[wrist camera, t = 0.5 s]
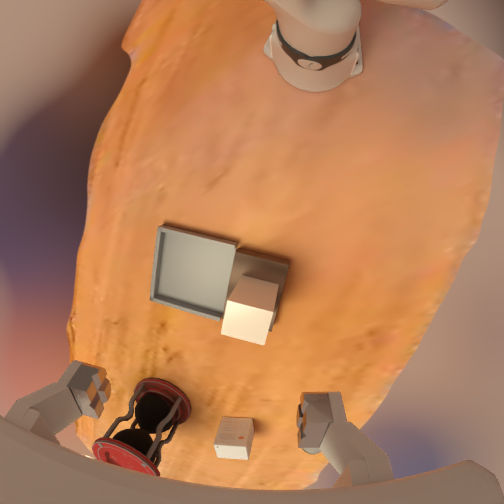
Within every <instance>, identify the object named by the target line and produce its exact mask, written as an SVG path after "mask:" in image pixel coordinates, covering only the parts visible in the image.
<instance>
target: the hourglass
mask: <svg viewBox="0 0 504 504" xmlns="http://www.w3.org/2000/svg"><path fill="white" fill-rule="evenodd" d="M135 400H136V403H137V405H136V407H135V417H136V419H135V420H134V422H133V423H132V425H131V427H130V429H125V430H122V431H120V432H118V433H117V434H116V435H115V436H114V437H113V438H112V439H111V438H109V437H110V435H111V434H112V432H113V431H114V430H115V428H116V427H117V425H118V424H119V423H120V422H122V421H128V420H129V419H131V418H132V417H133V413H134V408H133V406H134V401H135ZM190 412H191V406H190V402H189V400H188V399H187V397H186V396H185V394H184V393H183V392H182V391H181V390H179V389H178V388H177V387H176V386H174V385H172V384H171V383H169V382H167V381H164V380H161V379H156V378H148V379H143V380H142V381H140V382H139V383H138V384H137V386H136V388H135V390H134V395H133V396H132V398H131V399H130V401H129V411H128V414H127V415H126V416H124V417H118V418H116V420H115V421H114V423H113V424H112V425H111V427H110V428H109V429H108V431H107V432H106V434H105V435H104V436H103V438H99V439H97V440H96V441H95V442H94V443H93V446H92V450H93V454H94V455H95V457H96V458H97V459H98V460H101V461H104V462H107V463H110V464H113V465H116V466H120V467H123V468H127V469H130V470H134V471H138V472H142V473H146V474H150V475H155V476H159V477H160V472H159V471H158V469H157V467H158V465H159V463H160V461H161V448H162V446H163V445H164V444H167V443H169V442H170V441H171V439H172V437H173V435H174V433H175V431H176V429H177V427H178V425H179V424H181V423H184V422H185V421H186V420H187V419H188V417H189V416H190ZM137 423H138V425H139V427H140V429H135V426H136V425H137ZM172 425H174V426H173V428H172V429H171V431H170V433H169V435H168V437H167V439H165V440H161V437H162V434H161V433H163V432H165V431H167V430H169V429H170V428H171V426H172ZM155 433H157V434H156V438H155V440H154V442H153V440H152V438H151V436H150V435H149V434H155ZM160 440H161V441H160ZM155 458H156V461H155ZM154 461H155V463H154ZM153 463H154V464H153Z"/></svg>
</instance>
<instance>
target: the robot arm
mask: <svg viewBox="0 0 504 504" xmlns="http://www.w3.org/2000/svg"><path fill="white" fill-rule="evenodd" d="M264 1H265V2H266V3H268V4H269V5H270V6H271V7H272V8H273V9H274V10H275V13H276V17H277V21H276V23H274V24H273V26H272V29H273V30H272V32H271V34H270V36H269V38H268V40H267V42H266V44H265V46H264V49H263V51H264V54H265V55H266V56H267V57H268V58H270V59H271V60H272V61H273V62H274V63H275V65H276V67H277V69H278V71H279V73H280V74H281V76H282V77H283V78H284V79H285V80H286V81H287V82H288V83H290V84H291V85H293V86H295V87H297V88H299V89H302V90H305V91H311V92H322V91H327V90H331V89H333V88H335V87H337V86H339V85H340V84H341V83H343V82H344V81H345V80H346V79H348V78H350V77H354V76H357V75H359V74H361V73H362V70H363V65H362V52H361V40H360V30H359V21H360V19H361V15H362V7H361V3H360V0H264ZM376 1H380V2H384V3H387V4H395V5H401V6H407V7H414V8H420V9H426V10H433V9H435V8H438V7H440V6H442V5H443V4H445V3H446V2H447V1H448V0H376ZM356 62H357V63H358V64H357V65H356ZM106 375H107V373H106V370H105V368H102V367H98V366H95V365H91V364H88V363H84V362H80V361H77V360H74V361H72V362H71V364H70V365H69V367H68V368H67V369H66V371H65V372H64V374H63V375H62V377H61V378H60V379H59V381H58V382H57V383H52V384H50V385H48V386H46V387H44V388H42V389H40V390H37V391H35V392H33V393H31V394H29V395H27V396H25V397H23V398H20V399H18V400H16V402H15V403H14V405H13V406H12V407H11V409H10V410H9V412H8V413H7V415H6V416H5V417H2V416H1V415H0V504H504V496H503V492H502V489H501V487H500V484H499V482H498V479H497V478H496V476H495V475H494V474H493V473H492V472H490V471H489V470H488V469H486V468H484V467H483V466H481V465H480V464H478V463H476V462H474V461H472V460H465V461H461V462H459V463H455V464H452V465H449V466H446V467H443V468H439V469H436V470H432V471H428V472H425V473H421V474H417V475H413V476H408V477H403V478H399V479H394V477H393V473H392V469H391V465H390V461H389V457H388V455H387V454H386V453H385V452H384V451H383V450H382V449H380V448H379V447H378V446H377V445H376V444H374V443H373V442H372V441H371V440H370V439H369V438H368V437H367V436H366V435H365V434H363V433H362V432H361V431H360V430H359V429H358V428H357V427H356V426H355V425H353V424H352V423H351V422H347V419H346V414H345V410H344V405H343V401H342V397H341V393H340V392H302V394H301V397H300V401H301V403H300V404H299V405H298V409H297V427H298V428H299V431H298V435H297V436H298V448H319V449H320V451H321V452H322V453H323V454H324V456H325V457H326V458H327V459H328V461H329V462H330V463H331V464H332V466H333V467H334V468H335V469H336V470H337V471H338V473H339V474H340V475H341V476H340V477H339V478H338V480H337V481H336V483H335V484H334V486H333V487H332V488H327V489H310V490H259V489H242V488H230V487H220V486H212V485H204V484H197V483H191V482H185V481H179V480H174V479H169V478H164V477H159V476H155V475H150V474H146V473H142V472H138V471H134V470H130V469H127V468H123V467H120V466H116V465H113V464H110V463H107V462H104V461H101V460H98V459H95V458H92V457H89V456H86V455H83V454H81V453H78V452H76V451H73V450H70V449H68V448H65V447H63V446H61V445H60V442H59V441H58V440H57V438H56V437H55V435H56V434H57V433H59V432H60V431H61V430H63V429H64V428H66V427H67V426H68V425H70V424H71V423H73V422H74V421H76V420H77V419H78V418H80V417H81V416H82V415H86V416H89V417H93V418H96V419H99V418H100V416H101V414H102V412H103V410H104V406H103V404H104V403H105V402H107V401H108V400H109V397H110V394H111V384H110V381H109V380H108V379H107V378H106Z"/></svg>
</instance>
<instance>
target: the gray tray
mask: <svg viewBox="0 0 504 504" xmlns="http://www.w3.org/2000/svg"><path fill="white" fill-rule="evenodd" d="M236 248H237V242H233V241H229V240H225V239H221V238H216V237H212V236H208V235H204V234H200V233H196V232H192V231H188V230H183V229H179V228H175V227H171V226H167V225H161V226H158V229H157V237H156V245H155V253H154V262H153V271H152V281H151V292H150V300H151V301H154V302H157V303H160V304H163V305H166V306H169V307H173V308H176V309H179V310H182V311H186V312H189V313H192V314H196V315H199V316H203V317H206V318H210V319H213V320H217V321H220V320H221V318H222V316H223V311H224V306H225V301H226V296H227V291H228V286H229V281H230V276H231V271H232V267H233V262H234V257H235V252H236Z"/></svg>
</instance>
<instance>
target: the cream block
mask: <svg viewBox="0 0 504 504" xmlns="http://www.w3.org/2000/svg"><path fill="white" fill-rule="evenodd" d="M278 286H279V284H275V283H271V282H267V281H263V280H259V279H255V278H252V277H248V276H244V275H241V277H240V279H239V281H238V283H237V284H236V286H235V288H234V290H233V291H232V293H231V295H230V297H229V298H228V300H227V305H226V310H225V315H224V320H223V325H222V330H221V334H223V335H227V336H230V337H234V338H238V339H241V340H245V341H249V342H253V343H257V344H261V345H264V344H265V341H266V337H267V334H268V330H269V326H270V323H271V319H272V316H273V312H274V307H275V301H276V296H277V291H278Z"/></svg>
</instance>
